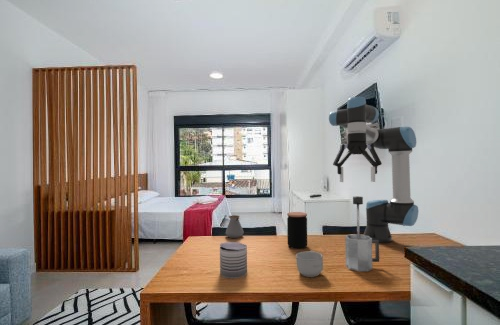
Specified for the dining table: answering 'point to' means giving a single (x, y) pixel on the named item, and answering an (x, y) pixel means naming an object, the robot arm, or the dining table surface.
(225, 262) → the can
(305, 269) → the teacup
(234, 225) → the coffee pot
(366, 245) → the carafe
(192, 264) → the dining table surface
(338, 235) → the dining table surface
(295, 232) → the coffee jar
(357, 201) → the plunger
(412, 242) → the dining table surface
